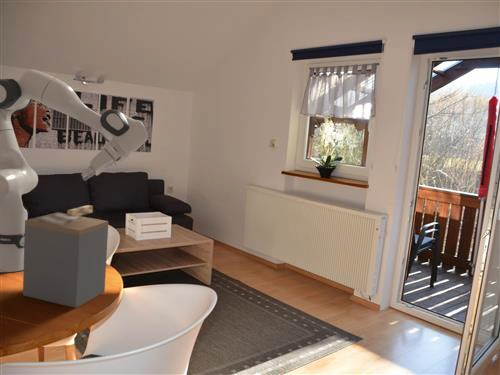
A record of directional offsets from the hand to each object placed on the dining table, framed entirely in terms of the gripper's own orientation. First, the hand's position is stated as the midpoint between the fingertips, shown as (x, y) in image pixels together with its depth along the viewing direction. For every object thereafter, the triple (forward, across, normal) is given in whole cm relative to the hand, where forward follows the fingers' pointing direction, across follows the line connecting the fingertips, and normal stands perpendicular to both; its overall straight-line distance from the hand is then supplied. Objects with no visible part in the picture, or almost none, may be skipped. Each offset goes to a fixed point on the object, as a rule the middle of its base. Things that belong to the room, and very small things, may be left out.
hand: (82, 177), depth 169 cm
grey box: (+31, +4, +27) cm, 41 cm away
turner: (+12, +5, +9) cm, 16 cm away
